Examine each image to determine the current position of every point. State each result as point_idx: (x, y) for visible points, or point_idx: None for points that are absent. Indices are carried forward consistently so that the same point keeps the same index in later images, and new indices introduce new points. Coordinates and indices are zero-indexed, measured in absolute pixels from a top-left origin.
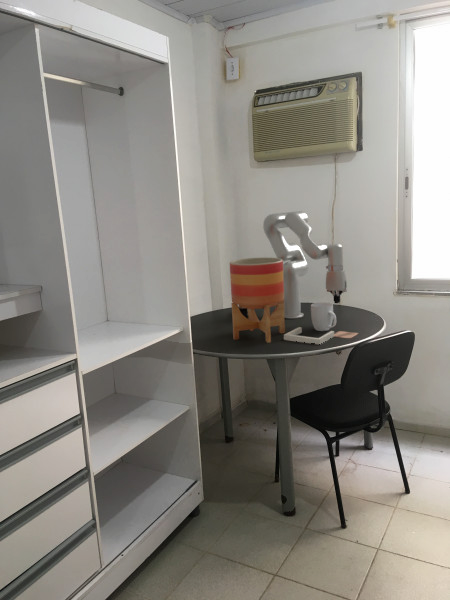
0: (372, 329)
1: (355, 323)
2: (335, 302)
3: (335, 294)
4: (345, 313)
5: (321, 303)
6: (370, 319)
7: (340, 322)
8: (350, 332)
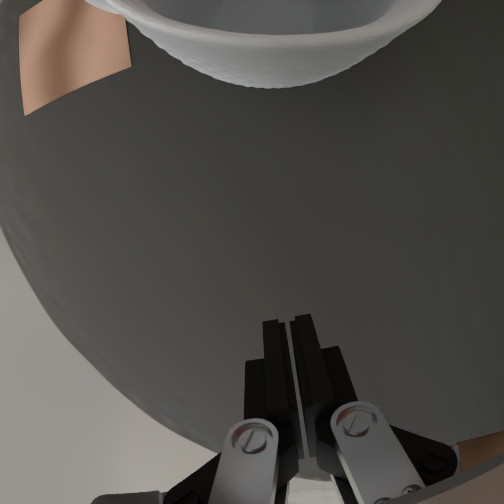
0: (27, 238)
1: (174, 307)
2: (294, 324)
3: (322, 443)
4: None
5: (393, 14)
6: (172, 404)
7: (275, 280)
8: (61, 92)
